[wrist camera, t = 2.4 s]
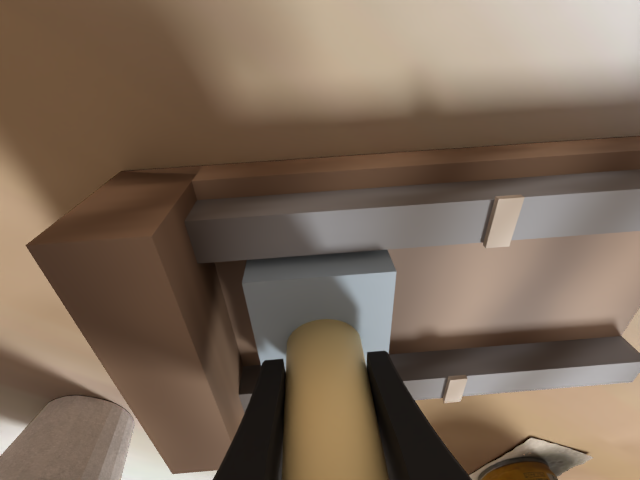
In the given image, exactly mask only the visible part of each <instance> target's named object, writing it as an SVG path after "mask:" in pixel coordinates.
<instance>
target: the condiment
mask: <svg viewBox="0 0 640 480" xmlns="http://www.w3.org/2000/svg"><path fill="white" fill-rule="evenodd" d="M529 453H530V454H529ZM524 454H525V455H524ZM592 458H593V457H591V456H588V455H586V454H584V453H581V452H578V451H575V450H572V449H570V448H567V447H563V446H560V445H558V444H552V443H548V442H546V441H543V440H538V439H534V438H530V439H528V440H527V441H526V442H525V443H523V444H521V445H519V446H517V447H515V449H514V450H513V451H511V452H508V453H506V454H505V455H504V456H503V457H501V458H498V459H497V460H494V461H493V462H490V463H488V464H487V465H485V466H484V467H482V468H481V469H479V470H477V471H476V472H474V473H472V474H470V475H469V476H470V478H471V479H472V480H558V479H557V476H560V475H561V474H562V473H563V472H565V471H568V470H569V469H570V468H572V467H574V466H577V465H580V464H584V463H585V462H586V461H588V460H590V459H592Z"/></svg>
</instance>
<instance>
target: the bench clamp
mask: <svg viewBox="0 0 640 480" xmlns="http://www.w3.org/2000/svg"><path fill="white" fill-rule="evenodd" d="M26 247H27V248H28V250H29V251H30V253H31V255H32V256H33V258H34V259H35V261H36V262H37V264H38V265H39V267H40V269H41V270H42V272H43V273H44V275H45V276H46V278H47V279H48V281H49V283H50V284H51V286H52V287H53V289H54V290H55V292H56V293H57V295H58V297H59V298H60V300H61V301H62V303H63V304H64V306H65V307H66V309H67V311H68V312H69V314H70V315H71V317H72V318H73V320H74V321H75V323H76V325H77V326H78V328H79V329H80V331H81V332H82V334H83V335H84V337H85V339H86V340H87V342H88V343H89V345H90V346H91V348H92V349H93V351H94V353H95V354H96V356H97V357H98V359H99V360H100V362H101V363H102V365H103V367H104V368H105V370H106V371H107V373H108V374H109V376H110V377H111V379H112V381H113V382H114V384H115V385H116V387H117V388H118V390H119V391H120V393H121V395H122V396H123V398H124V399H125V401H126V402H127V404H128V405H129V407H130V409H131V410H132V412H133V413H134V415H135V416H136V418H137V419H138V421H139V423H140V424H141V426H142V427H143V429H144V430H145V432H146V433H147V435H148V437H149V438H150V440H151V441H152V443H153V444H154V446H155V447H156V449H157V451H158V452H159V454H160V455H161V457H162V458H163V460H164V461H165V463H166V465H167V466H168V468H169V469H170V471H171V472H172V474H178V473H189V472H201V471H213V470H218V469H219V467H220V465H221V463H222V461H223V459H224V457H225V455H226V453H227V451H228V449H229V447H230V445H231V442H232V440H233V438H234V436H235V434H236V432H237V430H238V427H239V425H240V423H241V420H242V418H243V416H244V413H245V411H246V409H247V406H248V404H249V401H250V399H251V396H252V393H253V391H254V388H255V385H256V382H257V379H258V376H259V373H260V369H261V363H260V359H259V355H258V351H257V346H256V342H255V338H254V333H253V329H252V325H251V321H250V316H249V312H248V308H247V303H246V299H245V295H244V290H243V286H242V280H243V276H244V271H245V267H246V262H247V260H252V259H266V258H279V257H293V256H307V255H320V254H334V253H347V252H361V251H374V250H388V252H389V254H390V257H391V259H392V262H393V264H394V267H395V269H396V271H397V272H396V282H395V293H394V303H393V314H392V324H391V334H390V345H389V356H390V358H391V360H392V362H393V364H394V366H395V368H396V370H397V372H398V373H399V375H400V377H401V379H402V381H403V382H404V384H405V386H406V387H407V389H408V391H409V392H410V394H411V396H412V397H413V399H414V400H423V399H435V398H443V401H444V403H450V402H461V398H462V396H471V395H483V394H495V393H507V392H519V391H531V390H544V389H556V388H568V387H580V386H592V385H604V384H616V383H628V382H633V380H634V379H635V378H636V377H637V375H638V374H639V373H640V353H639V352H638V351H637V350H636V349H635V348H634V347H632V346H631V345H630V344H629V343H628V342H627V341H626V340H625V339H624V338H623V337H622V336H621V335H622V334H623V332H624V331H625V329H626V328H627V326H628V325H629V323H630V322H631V320H632V319H633V317H634V316H635V314H636V312H637V311H638V309H639V308H640V136H633V137H619V138H604V139H589V140H574V141H560V142H545V143H530V144H515V145H501V146H486V147H471V148H456V149H442V150H427V151H412V152H397V153H383V154H368V155H353V156H338V157H324V158H309V159H294V160H279V161H264V162H250V163H235V164H220V165H205V166H191V167H176V168H161V169H146V170H132V171H121V172H120V173H118V174H117V175H116V176H114V177H113V178H112V179H111V180H109V181H108V182H107V183H105V184H104V185H103V186H102V187H100V188H99V189H98V190H96V191H95V192H94V193H93V194H91V195H90V196H89V197H87V198H86V199H85V200H84V201H82V202H81V203H80V204H78V205H77V206H76V207H74V208H73V209H72V210H71V211H69V212H68V213H67V214H65V215H64V216H63V217H62V218H60V219H59V220H58V221H56V222H55V223H54V224H53V225H51V226H50V227H49V228H47V229H46V230H45V231H44V232H42V233H41V234H40V235H38V236H37V237H36V238H34V239H33V240H32V241H31V242H29V243H28V244H27V245H26Z"/></svg>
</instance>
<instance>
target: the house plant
mask: <svg viewBox="0 0 640 480" xmlns="http://www.w3.org/2000/svg"><path fill="white" fill-rule="evenodd" d="M133 428H134V420H133V418H132V417H131V415H130V414H129V413H128V412H127V411H126V410H125V409H124V408H122V407H120V406H118V405H117V404H115V403H112V402H109V401H105V400H102V399H97V398H92V397H86V396H78V395H77V396H65V397H61V398H57V399H55V400H53V401H51V402H49V403H48V404H47V405H46V406H45V407H44V408H43V409H42V411H41V412H40V413H39V414H38V415H37V416H36V417H35V418H34V419H33V421H32V422H31V423H30V424H29V425H28V426H27V427H26V428H25V429H24V430H23V432H22V433H21V434H20V435H19V436H18V437H17V438H16V439H15V440H14V442H13V443H12V444H11V445H10V446H9V447H8V448H7V449H6V450H5V452H4V453H3V454H2V455H1V456H0V480H121V477H122V473H123V469H124V465H125V461H126V457H127V452H128V448H129V444H130V440H131V436H132V432H133Z"/></svg>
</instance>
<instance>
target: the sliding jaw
mask: <svg viewBox="0 0 640 480" xmlns="http://www.w3.org/2000/svg"><path fill="white" fill-rule="evenodd" d="M396 272H397V271H396V269H395V267H394V264H393V262H392V259H391V257H390V254H389V252H388V250H374V251H361V252H347V253H334V254H320V255H307V256H293V257H279V258H266V259H252V260H247V262H246V267H245V271H244V276H243V280H242V286H243V290H244V295H245V299H246V303H247V308H248V312H249V316H250V321H251V325H252V329H253V333H254V338H255V342H256V346H257V351H258V355H259V359H260V363H261V366H262V363H263V362H264V361H265V360H274V359H283V360H284V366H285V372H286V379H285V404H284V429H283V456H282V480H389V476H388V471H387V466H386V461H385V456H384V451H383V446H382V441H381V436H380V431H379V427H378V422H377V417H376V412H375V407H374V402H373V397H372V392H371V387H370V382H369V378H368V373H367V368H366V367H367V352H374V351H386V352H388V354H389V345H390V334H391V324H392V314H393V303H394V293H395V282H396Z"/></svg>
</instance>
